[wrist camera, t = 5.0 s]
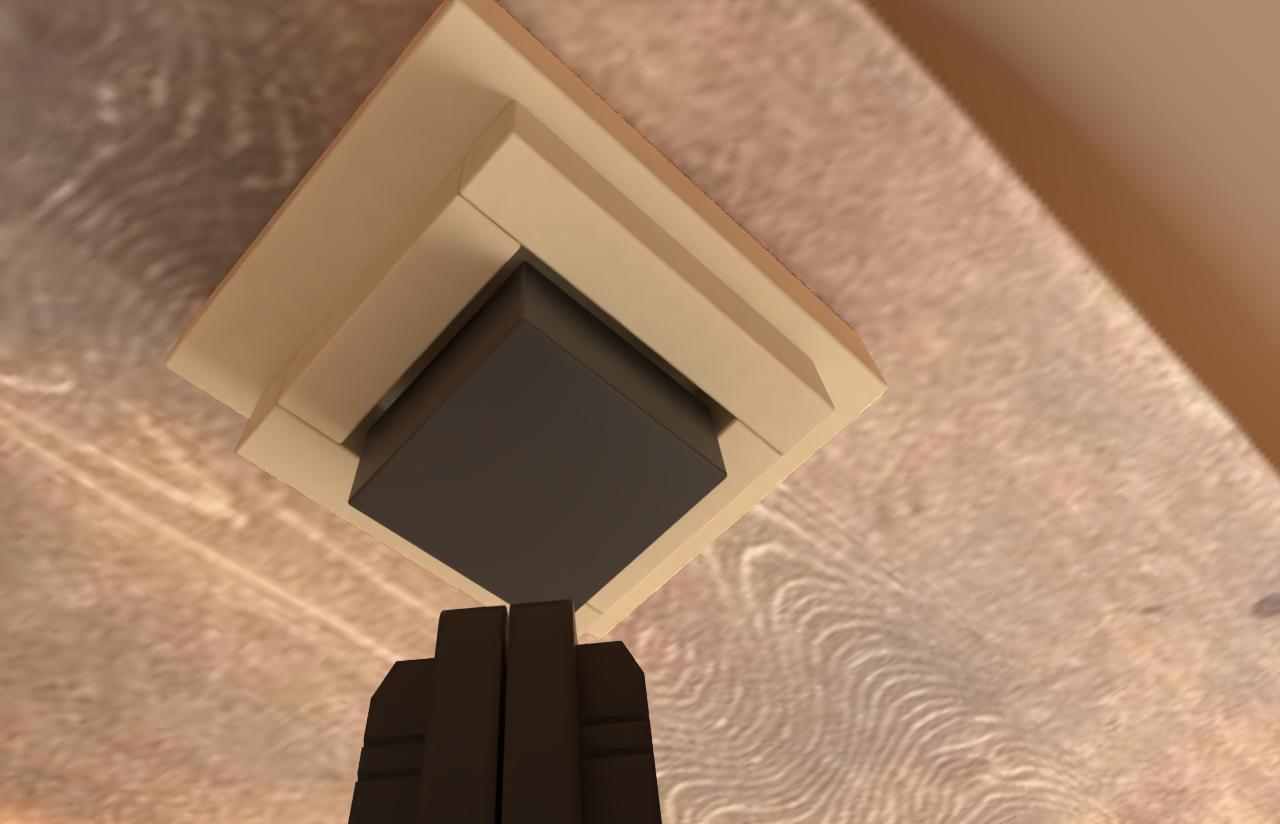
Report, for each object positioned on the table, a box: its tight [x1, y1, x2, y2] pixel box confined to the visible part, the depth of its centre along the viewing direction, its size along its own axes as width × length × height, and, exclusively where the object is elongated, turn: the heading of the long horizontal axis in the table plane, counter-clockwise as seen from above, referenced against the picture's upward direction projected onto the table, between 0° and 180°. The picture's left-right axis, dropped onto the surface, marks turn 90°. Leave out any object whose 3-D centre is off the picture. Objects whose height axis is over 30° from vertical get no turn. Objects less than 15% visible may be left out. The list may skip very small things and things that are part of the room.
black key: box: [348, 261, 727, 612], centre depth 16 cm, size 4×4×2 cm
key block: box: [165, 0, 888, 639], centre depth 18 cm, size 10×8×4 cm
